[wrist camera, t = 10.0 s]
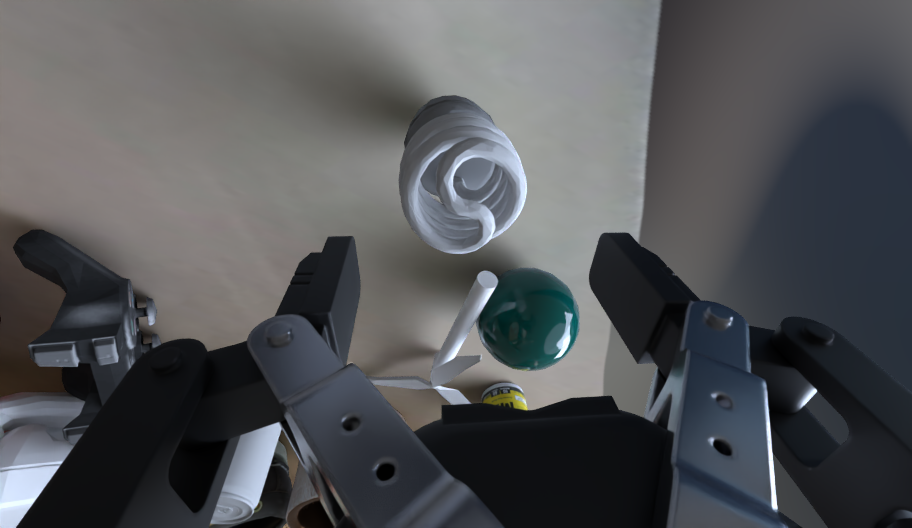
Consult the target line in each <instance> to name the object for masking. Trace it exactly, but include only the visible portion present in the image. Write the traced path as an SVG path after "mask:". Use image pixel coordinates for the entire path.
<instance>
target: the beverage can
mask: <svg viewBox="0 0 912 528" xmlns="http://www.w3.org/2000/svg"><path fill="white" fill-rule="evenodd" d="M281 429H282V428H281V426H280V424H279V422H278V423H275V424H272V425H269V426H266V427H263V428H261V429H258V430H255V431H252V432H249V433H246V434H243V435H241V436H240V439H239V442H238V445H237V448H236V451H235V454H234V456H233V459H232V462H231V465H230V468H229V471H228V474H227V477H226V479H225V482H224V485H223V488H222V491H221V494H220V497H219V500H218V503H217V505H216V508H215V511H214V514H213V517H212V520H211V524H233V523H239V522H242V521H245V520H247V519H248V518H250V517H251V516H252V514H253V512H254V509H255V507H256V506H257V505H258V503H259V500H260V496H261V493H262V490H263V487H264V484H265V480H266V477H267V474H268V471H269V468H270V464H271V461H272V458H273V455H274V452H275V448H276V445H277V442H278V439H279V436H280V432H281Z"/></svg>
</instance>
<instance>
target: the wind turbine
mask: <svg viewBox="0 0 912 528" xmlns="http://www.w3.org/2000/svg"><path fill="white" fill-rule="evenodd" d="M497 284H498V279H497V277H496V276H495V275H494V274H493V273H492V272H489V271H482V272H480V273H479V274H478V276H477V278H476V280H475V282H474V284H473V286H472V288H471V290H470V292H469V294H468V296H467V298H466V300H465V302H464V304H463V306H462V308H461V310H460V312H459V314H458V316H457V318H456V320H455V322H454V324H453V326H452V328H451V330H450V332H449V334H448V336H447V338H446V340H445V342H444V344H443V346H442V348H441V350H440V352H437V353H435V355H434V361H433V366H432V370H431V377H430V383H429V382H428V381H426V380H424V379H422V378H420V377H418V376H401V377H372V376H366V377H367V378H368V379H369V380H370V381H371V383H372V384H375V385H383V386H392V387H401V388H409V389H418V390H422V389H428V388H434V389H436V390H437V391H438V392H439V393H440V395H441V396H442V397H444V398H445V399H446V400H447V401H448V402H450V403H451V404H452V405H456V404H471V403H470V402H469V401H468V400H467V399H466V398H465V397H464V396H463V395H462V394H461V392H460V391H459V390H455V389H450V388H446V387H441V386H440V385H443V384H446V383H448V382H449V381H450V380H452V379H453V378H455V377H456V376H457V375H459V374H460V373H462V372H463V371H464V370H466V369H467V368H469V367H471V366H473V365H474V364H476V363H478V362H480V360H481V355H477V356H457V357H455V355H456V354H457V352H458V350H459V348H460V347H461V345H462V343H463V342H464V340H465V338H466V337H467V335H468V333H469V331H470V330H471V328H472V326H473V325H474V323H475V321H476V320H477V318H478V316H479V315H480V313H481V311H482V309H483V308H484V306H485V304H486V303H487V301H488V299H489V298H490V296H491V294H492V292H493V291H494V289H495V287H496V286H497ZM454 357H455V358H454Z"/></svg>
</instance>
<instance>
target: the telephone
mask: <svg viewBox="0 0 912 528" xmlns="http://www.w3.org/2000/svg"><path fill="white" fill-rule="evenodd" d="M84 404H85V401H83V400H80V399H78V398H76V397H74V396H72V395H71V394H69V393H68V392H19V393H15V394H11V395H7V396H3V397H0V528H16V527H17V525H18V524H19V522H20V521H21V520H22V518H23V517H24V515H25V514H26V513H27V511H28V510H29V508H30V507H31V506H32V504H33V503H34V501H35V500H36V499H37V497H38V496H39V495H40V493H41V492H42V490H43V489H44V488H45V486H46V485H47V483H48V482H49V481H50V479H51V478H52V476H53V475H54V474H55V472H56V471H57V469H58V468H59V467H60V465H61V464H62V462H63V461H64V460H65V458H66V457H67V456H68V454H69V453H70V451H71V450H72V449H73V447H74V446H75V445H70V444H69V441H66V440H65V439H64V436H63V431H62V429H63V428H64V427H65V426H66V425H67V424H69V423H70V422H71V421H72V420H73V419H75V418H76V417H77V416H78V415H80V413H81V410H82V408H83V406H84ZM7 430H10V431H7ZM4 431H7V432H5V433H4Z"/></svg>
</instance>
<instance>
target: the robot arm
mask: <svg viewBox="0 0 912 528" xmlns="http://www.w3.org/2000/svg"><path fill="white" fill-rule="evenodd" d="M589 283H590V287H591V289H592V291H593V293H594V294H595V296H596V298H597V299H598V301H599V302H600V304H601V306H602V307H603V309H604V310H605V312H606V314H607V315H608V317H609V319H610V320H611V322H612V323H613V325H614V327H615V328H616V330H617V331H618V333H619V335H620V336H621V338H622V339H623V341H624V343H625V344H626V346H627V348H628V349H629V351H630V352H631V354H632V355H633V357H634V359H635V360H636V362H637V364H643V363H655V364H656V365H657V369H656V371H655V373H654V375H653V379H652V383H651V388H650V392H649V396H648V400H647V405H646V409H645V413H644V417H640V416H638V415H635V414H632V413H629V412H625V411H622V410H619V409H618V407H617V405H616V404H615V401H614V399H613V397H612V396H599V397H581V398H570V399H567V400H564V401H561V402H557V403H554V404H551V405H548V406H545V407H542V408H539V409H536V410H523V409H517V408H511V407H506V406H500V405H494V404H488V403H474V404H456V405H442V419H440V420H437V421H434V422H432V423H430V424H428V425H425V426H423V427H421V428H420V429H418V430H417V431H415V432H413V431H412V430H411V429H410V427H409V426H408V425H407V424H406V423H405V421H404V420H403V419H402V418H401V417H400V416H399V414H398V413H397V412H396V411H395V410H394V409H393V407H392V406H391V405H390V404H389V403H388V401H387V400H386V399H385V398H384V397H383V396H382V394H381V393H380V392H379V391H378V390H377V389H376V387H375V386H374V385H373V384H372V383H371V381H370V380H369V379H368V378H367V377H366V376H365V374H364V373H363V372H362V371H361V370H360V369H359V368H358V367H357V366H356V365H355V364H353V363H350V364H348V365H347V366H346V363H347V358H348V353H349V348H350V343H351V338H352V333H353V328H354V323H355V318H356V313H357V308H358V303H359V298H360V287H361V284H360V273H359V266H358V259H357V252H356V245H355V240H354V237H353V236H333V237H328V238H327V240H326V243H325V246H324V248H323V251H322V252H321V253H310V254H309V255H308V256H307V257H305V258H304V259H303V260H302V261H301V262H300V263H299V265H298V267H297V269H296V271H295V276H293V278H292V280H291V282H290V285H289V287H288V289H287V291H286V293H285V295H284V297H283V300H282V302H281V304H280V306H279V308H278V310H277V313H276V315H275V317H272V318H270V319H267V320H265V321H263V322H262V323H260V324H259V325H258V326H256V327H255V328H254V329H253V330H252V331H251V333H250V334H249V336H248V338H247V341H245V342H242V343H239V344H236V345H232V346H228V347H224V348H220V349H216V350H213V351H209V352H207V350H206V348H205V346H204V344H203V343H202V342H200V341H198V340H195V339H177V340H173V341H169V342H166V343H163V344H161V345H158V346H156V347H154V348H153V349H151V350H149V351H148V352H146V353H145V354H143V355H142V356H141V357H140V358H139V359H137V360H136V361H135V363H134V364H133V365H132V366H131V368H130V369H129V371H128V372H127V373H126V375H125V376H124V378H123V379H122V380H121V382H120V383H119V384H118V386H117V387H116V389H115V390H114V391H113V393H112V394H111V396H110V397H109V398H108V400H107V401H106V403H105V404H104V405H103V407H102V408H101V410H100V411H99V412H98V414H97V415H96V417H95V418H94V419H93V421H92V422H91V423H90V425H89V426H88V428H87V429H86V430H85V432H84V433H83V435H82V436H81V437H80V439H79V440H78V442H77V443H76V444H75V446H74V447H73V449H72V450H71V451H70V453H69V454H68V456H67V457H66V458H65V460H64V461H63V462H62V464H61V465H60V467H59V468H58V469H57V471H56V472H55V474H54V475H53V476H52V478H51V479H50V481H49V482H48V483H47V485H46V486H45V488H44V489H43V490H42V492H41V493H40V495H39V496H38V497H37V499H36V500H35V501H34V503H33V504H32V506H31V507H30V508H29V510H28V511H27V513H26V514H25V515H24V517H23V518H22V520H21V521H20V522H19V524H18V525H17V527H16V528H209V526H210V523H211V520H212V517H213V514H214V511H215V508H216V505H217V503H218V500H219V497H220V494H221V491H222V488H223V485H224V482H225V479H226V477H227V474H228V471H229V468H230V465H231V462H232V459H233V456H234V454H235V451H236V448H237V445H238V442H239V439H240V436H241V435H243V434H246V433H249V432H252V431H255V430H258V429H261V428H263V427H266V426H269V425H272V424H275V423H278V422H279V424H280V426H281V428H282V430H283V431H284V433H285V435H286V437H287V439H288V440H289V442H290V444H291V446H292V448H293V449H294V451H295V453H296V455H297V457H298V458H299V460H300V462H301V464H302V466H303V467H304V469H305V471H306V473H307V475H308V477H309V479H310V481H311V483H312V485H313V487H314V489H315V491H316V493H317V495H318V497H319V499H320V501H321V503H322V505H323V507H324V509H325V511H326V513H327V515H328V516H329V518H330V520H331V522H332V524H333V526H334V527H335V528H802V527H800V526H799V525H798V524H796V523H795V522H794V521H792V520H791V519H789V518H788V517H787V516H785V515H784V514H782V513H781V512H780V511H778V510H777V504H776V492H775V480H774V468H773V457H772V452H773V454H774V455H775V456H776V458H777V459H778V460H779V462H780V463H781V464H782V466H783V467H784V469H785V470H786V471H787V472H788V474H789V475H790V477H791V478H792V479H793V481H794V482H795V483H796V484H797V486H798V487H799V489H800V490H801V492H802V493H803V494H804V496H805V497H806V498H807V500H808V501H809V502H810V504H811V505H812V506H813V507H814V509H815V510H816V512H817V513H818V514H819V516H820V517H821V519H822V520H823V521H824V523H825V524H826V525H827V527H828V528H912V393H911V392H910V391H909V390H908V389H907V388H905V387H904V386H903V385H902V384H900V383H899V382H898V381H897V380H896V379H894V378H893V377H892V376H891V375H890V374H888V373H887V372H886V371H885V370H884V369H882V368H881V367H880V366H879V365H877V364H876V363H875V362H874V361H872V360H871V359H870V358H869V357H868V356H866V355H865V354H864V353H863V352H862V351H860V350H859V349H858V348H857V347H856V346H854V345H853V344H852V343H851V342H849V341H848V340H847V339H846V338H844V337H843V336H842V335H841V334H839V333H838V332H837V331H835V330H833V329H832V328H830V327H828V326H826V325H824V324H822V323H819V322H816V321H814V320H811V319H807V318H802V317H788V318H785V319H784V320H783V321H782V322H781V323H780V325H779V326H778V328H777V329H776V330H770V329H764V328H758V327H753V326H748V324H747V322H746V321H745V319H744V318H743V317H742V316H741V315H739V314H738V313H737V312H735V311H734V310H732V309H730V308H728V307H726V306H724V305H721V304H718V303H715V302H710V301H701V300H700V299H699V298H698V297H697V296H696V295H695V294H694V293H693V292H692V291H691V290H690V289H689V288H688V287H687V286H686V285H685V284H684V283H683V282H682V281H681V279H680V278H679V277H678V276H675V274H674V272H673V271H672V270H671V269H670V268H669V267H667V265H666V264H665V263H664V262H663V261H662V260H661V259H660V258H659V257H658V256H657V255H656V254H654V253H652V252H650V251H649V250H647V249H645V248H644V247H641V246H640V245H639V244H638V243H637V242H636V240H635V239H634V238H633V237H632V236H631V235H630V234H629V233H603V234H602V235H601V236H600V238H599V241H598V245H597V248H596V252H595V255H594V258H593V262H592V265H591V269H590V273H589ZM817 391H818V392H819V393H820V394H821V395H822V396H823V397H824V398H825V399H826V400H827V401H828V402H829V403H830V404H831V405H832V406H833V407H834V408H835V409H836V410H837V412H839V414H841V416H842V417H843V418H844V419H845V421H846V423H847V425H848V428H849V436H848V438H847V440H846V441H845V442H844V443H843V444H842V445H840V444H839V443H838V442H837V441H836V440H835V439H834V437H833V436H831V434H830V433H829V432H828V431H827V430H826V429H825V428H824V426H823V425H822V424H821V423H820V422H819V421H818V420H817V419H816V418H815V417H814V415H813V414H812V413H811V412H810V411H809V410H808V409H807V408H806V407H805V406H804V405H805V404H806V403H807V401H809V399H810V398H811V397H812V396H813V395H814V394H815V393H816V392H817Z"/></svg>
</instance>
